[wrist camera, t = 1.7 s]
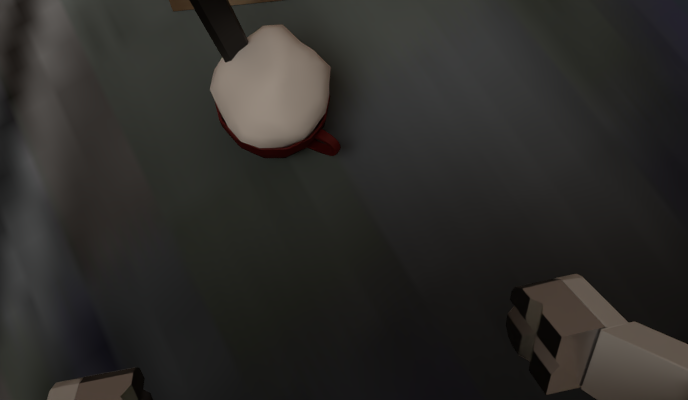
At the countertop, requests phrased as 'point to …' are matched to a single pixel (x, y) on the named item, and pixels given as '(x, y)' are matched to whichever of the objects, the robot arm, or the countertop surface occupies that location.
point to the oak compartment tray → (178, 3)
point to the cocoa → (267, 86)
